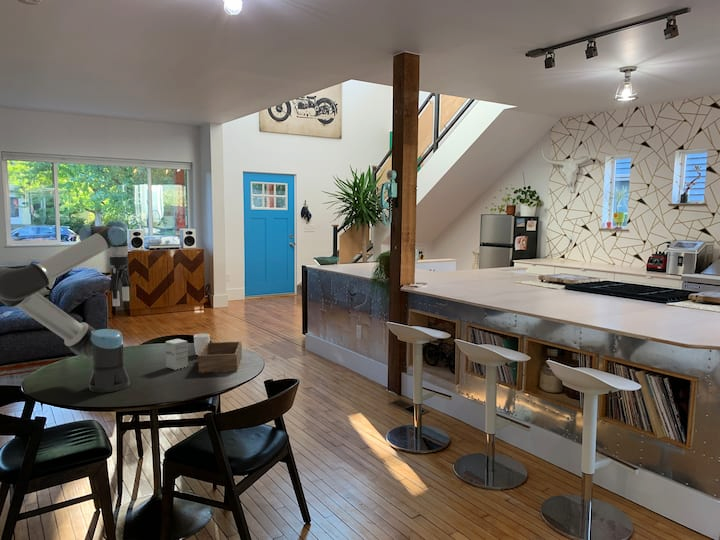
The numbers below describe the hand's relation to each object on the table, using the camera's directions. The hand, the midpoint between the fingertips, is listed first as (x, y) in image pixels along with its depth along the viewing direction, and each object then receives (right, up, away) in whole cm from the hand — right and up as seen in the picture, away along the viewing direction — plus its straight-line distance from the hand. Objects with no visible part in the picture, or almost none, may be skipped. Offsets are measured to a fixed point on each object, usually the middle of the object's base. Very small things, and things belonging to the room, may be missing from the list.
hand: (121, 303), depth 231 cm
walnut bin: (+41, -30, +15) cm, 53 cm away
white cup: (+26, -29, +33) cm, 51 cm away
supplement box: (+21, -31, +11) cm, 39 cm away
